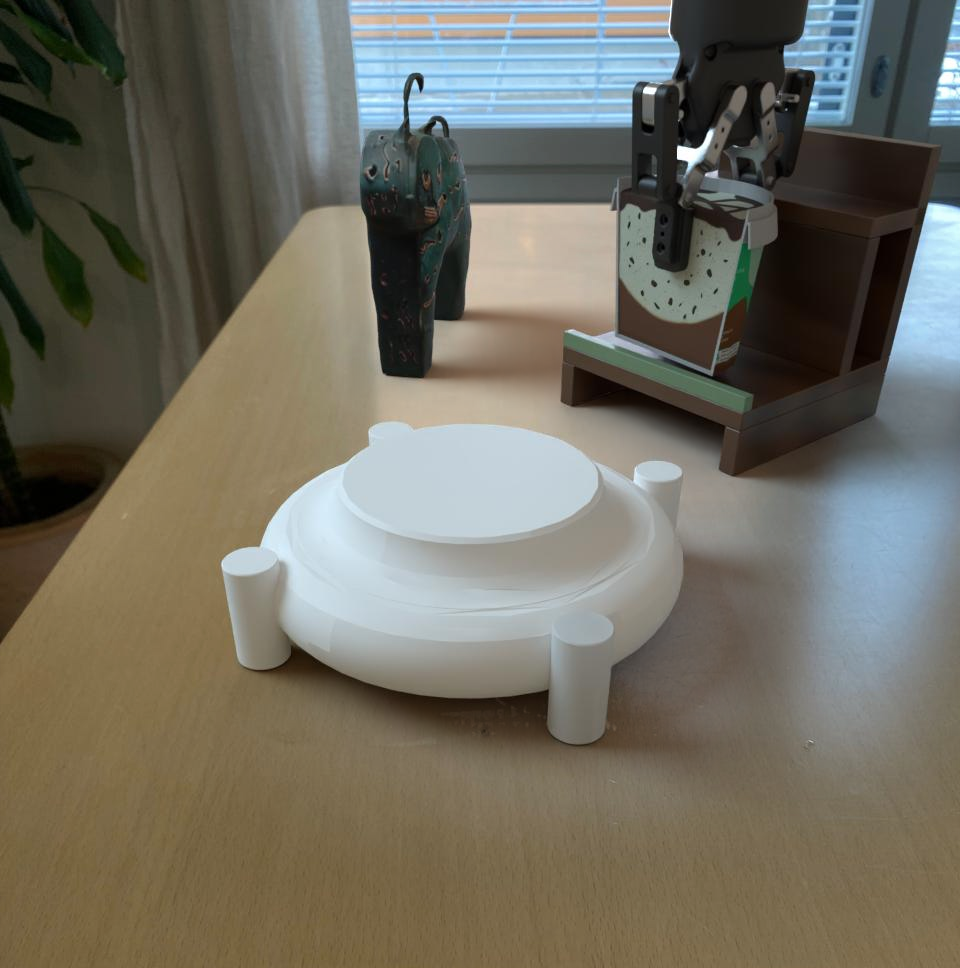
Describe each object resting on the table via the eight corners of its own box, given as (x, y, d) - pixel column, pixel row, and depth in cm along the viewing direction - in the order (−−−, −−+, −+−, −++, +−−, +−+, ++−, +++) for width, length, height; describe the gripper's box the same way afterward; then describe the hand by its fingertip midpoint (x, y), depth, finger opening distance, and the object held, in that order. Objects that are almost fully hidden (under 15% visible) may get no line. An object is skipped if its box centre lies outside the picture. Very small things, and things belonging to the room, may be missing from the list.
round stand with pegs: (316, 833, 37) (295, 684, 33) (186, 545, 55) (162, 425, 50) (814, 670, 45) (848, 535, 41) (562, 466, 63) (568, 357, 59)
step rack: (703, 354, 80) (735, 116, 70) (875, 414, 70) (943, 145, 60) (560, 401, 72) (573, 138, 62) (732, 476, 62) (782, 177, 52)
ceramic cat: (432, 387, 74) (423, 86, 62) (350, 381, 75) (326, 83, 64) (483, 309, 90) (484, 57, 78) (415, 305, 91) (406, 56, 79)
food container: (796, 363, 63) (828, 198, 58) (729, 383, 61) (756, 211, 55) (665, 315, 72) (681, 166, 66) (601, 330, 69) (612, 176, 63)
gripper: (714, -59, 47) (674, 294, 57) (882, -59, 54) (821, 254, 64) (604, -59, 52) (584, 267, 62) (772, -59, 59) (731, 232, 69)
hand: (706, 259), depth 63 cm, fingers closed on food container, 6 cm apart
